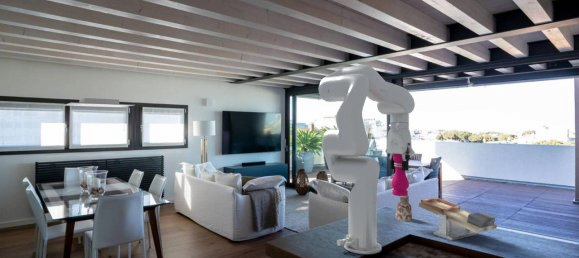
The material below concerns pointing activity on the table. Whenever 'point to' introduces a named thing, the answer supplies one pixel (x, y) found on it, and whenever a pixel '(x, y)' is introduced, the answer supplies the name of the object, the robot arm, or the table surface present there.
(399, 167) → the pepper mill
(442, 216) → the fulcrum
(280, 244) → the table surface
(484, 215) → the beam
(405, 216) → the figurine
